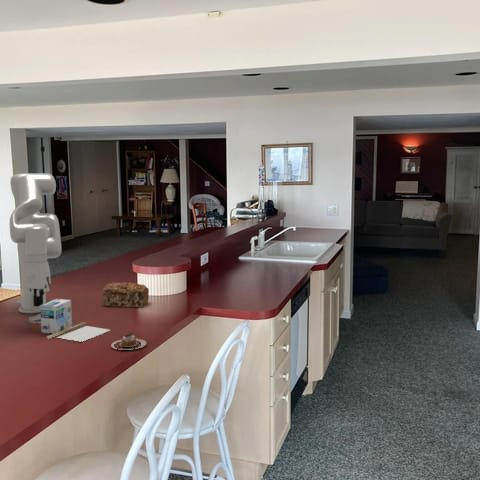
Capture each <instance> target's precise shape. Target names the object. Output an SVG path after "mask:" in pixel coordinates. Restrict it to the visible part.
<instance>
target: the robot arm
mask: <svg viewBox="0 0 480 480" xmlns="http://www.w3.org/2000/svg"><path fill="white" fill-rule="evenodd" d="M56 183H57V182H56V179H55V177H54V176H53V175H52V173H35V172H33V173H31V172H30V173H28V172H27V173H17V174H14V175H12V176H11V177H10V189H11V192H12V196H13V198H14V201H16V205H17V207H16V208H14V210H13V211H12V213H11V215H10V217H9V234H10V235H9V236H10V239H11V241H12V243H15V244H17V246H16V247H17V252H18V258H19V266H20V279H21V280H20V282H21V297H20V298H19V300H16V304H19V305H20V306H19V307H18V312H20V313H24V314H36V313H37V314H40V313H41V306H40V305H42V304H45V303H47V297H46V296H47V295H46V293H48V292H50V291H51V290H50V287H51V283H52V280H51V279H52V278H51V271H50V266H49V262H48V259H56V258H59V257H60V256H61V254H62V241H61V231H60V230H61V229H60V223H59V218H58V217H57V216H58V215H56V214H54V213H40V211H41V210H42V208H43V203H44V202H43V198H42V195H45V196H46V195H47V196H48V195H54V194H55V192H56V188H57V184H56Z"/></svg>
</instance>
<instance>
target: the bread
mask: <svg viewBox="0 0 480 480" xmlns="http://www.w3.org/2000/svg"><path fill="white" fill-rule="evenodd" d="M102 288H103V290H102V301H103V302H102V304H103V306H106V307H108V306H111V307H115V308H119V307H120V308H133V307H134V308H143V307H145V305H147V304H148V302H149V297H150V295H149V291H150V290H149V288H148V287H147V286H146V285H145V284H140V283H134V282H116V281H115V282H112V281H111V282H108V283H106V284H105V285H103V287H102Z"/></svg>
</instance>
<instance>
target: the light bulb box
mask: <svg viewBox="0 0 480 480" xmlns="http://www.w3.org/2000/svg"><path fill="white" fill-rule="evenodd" d="M40 306H41V312H40V314H41V319H40V321H41V324H40V326H41V333H42V332H43V333H42V334H49V333H52V334H54V333H57V332H60V331H62V330H65V329H68V328H70V327H73V326H72V325H73V320H72V300H71V299H62V298H55V299H52V300H51V301H48V302H47V301H46V303H45V304H42V305H40ZM52 334H51V335H52Z"/></svg>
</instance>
